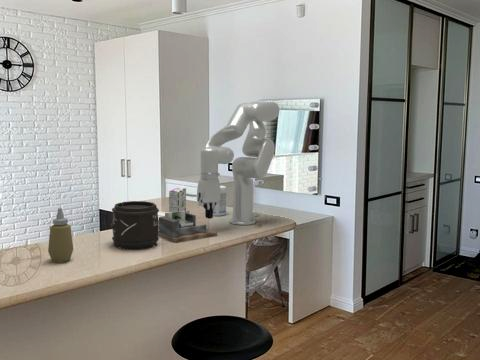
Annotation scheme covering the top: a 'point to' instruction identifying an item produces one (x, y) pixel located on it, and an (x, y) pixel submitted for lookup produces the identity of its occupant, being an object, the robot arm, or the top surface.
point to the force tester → (175, 234)
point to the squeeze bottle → (60, 239)
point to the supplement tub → (221, 203)
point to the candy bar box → (177, 200)
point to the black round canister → (135, 225)
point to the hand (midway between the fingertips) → (209, 217)
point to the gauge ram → (187, 220)
